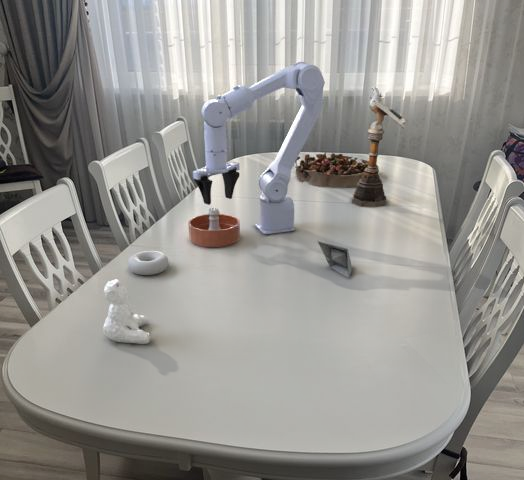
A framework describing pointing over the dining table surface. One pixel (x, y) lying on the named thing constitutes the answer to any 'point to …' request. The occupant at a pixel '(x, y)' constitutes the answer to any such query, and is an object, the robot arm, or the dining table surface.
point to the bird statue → (374, 156)
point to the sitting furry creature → (122, 317)
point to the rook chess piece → (214, 219)
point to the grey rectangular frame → (337, 258)
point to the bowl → (214, 231)
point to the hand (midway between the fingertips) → (218, 200)
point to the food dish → (331, 170)
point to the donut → (148, 262)
